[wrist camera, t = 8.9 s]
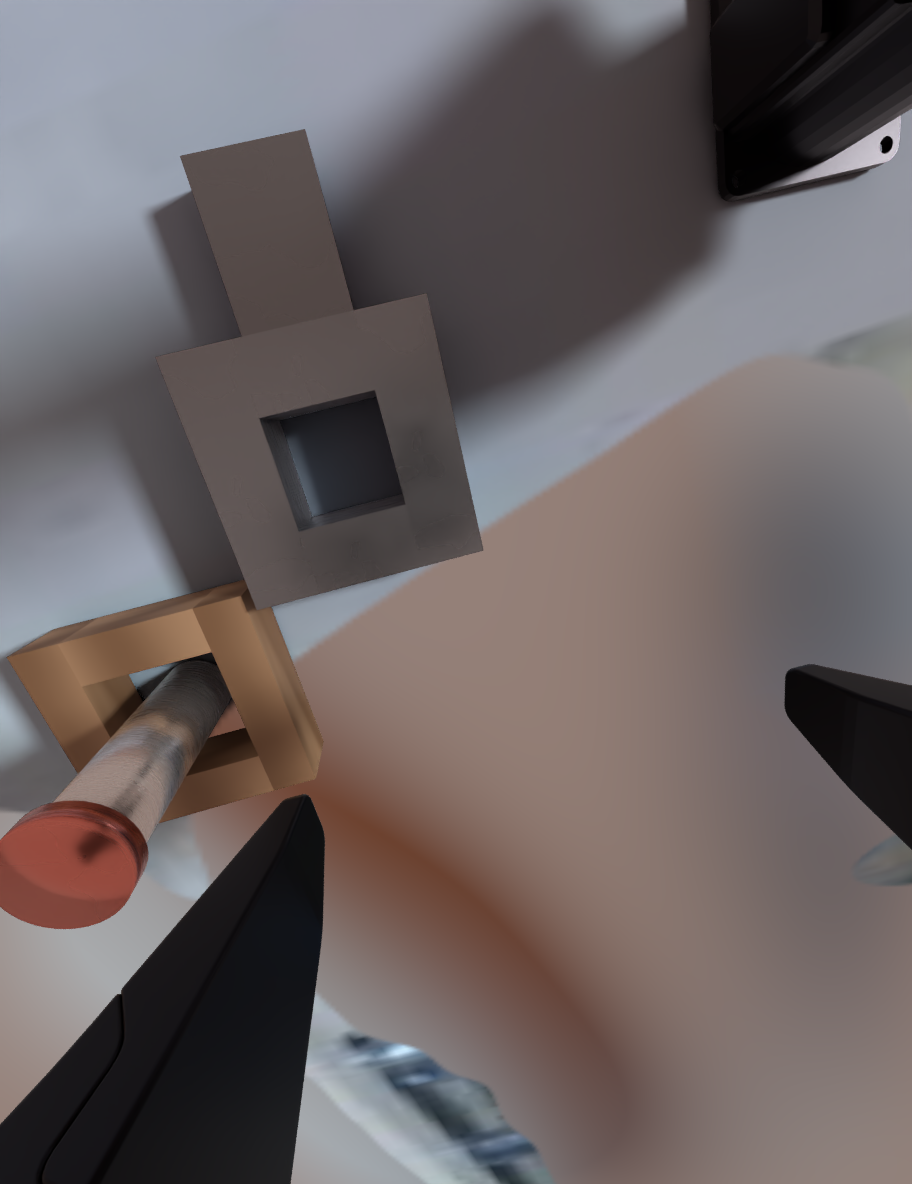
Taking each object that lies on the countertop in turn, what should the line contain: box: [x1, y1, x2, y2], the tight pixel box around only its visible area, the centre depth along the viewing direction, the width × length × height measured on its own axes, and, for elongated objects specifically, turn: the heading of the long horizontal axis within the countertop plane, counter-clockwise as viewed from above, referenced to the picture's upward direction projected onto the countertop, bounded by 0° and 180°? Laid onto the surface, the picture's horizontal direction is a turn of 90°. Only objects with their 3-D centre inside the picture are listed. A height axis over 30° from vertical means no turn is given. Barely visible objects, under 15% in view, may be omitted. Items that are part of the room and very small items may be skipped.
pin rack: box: [7, 580, 323, 823], centre depth 19 cm, size 8×8×2 cm
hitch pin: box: [0, 660, 231, 929], centre depth 16 cm, size 3×3×9 cm
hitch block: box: [155, 129, 483, 610], centre depth 16 cm, size 8×13×3 cm, turn 13°
